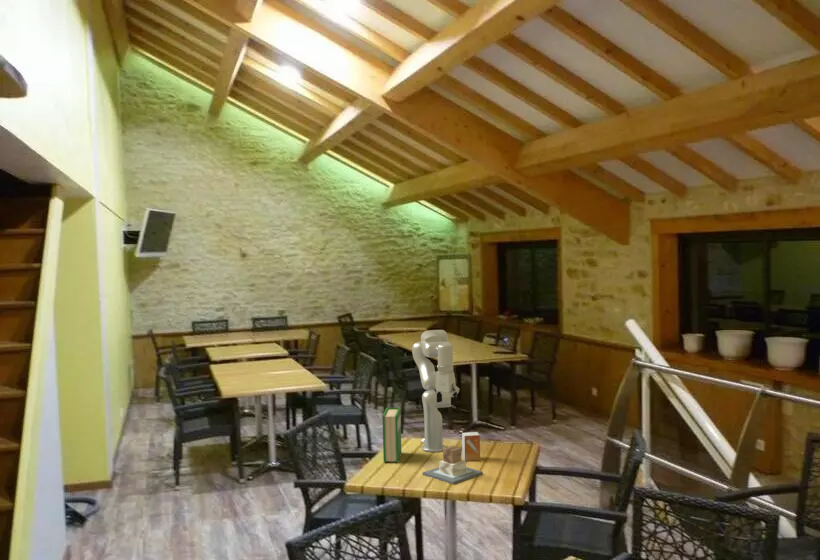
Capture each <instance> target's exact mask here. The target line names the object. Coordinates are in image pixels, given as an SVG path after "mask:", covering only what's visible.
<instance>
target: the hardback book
mask: <svg viewBox="0 0 820 560" xmlns="http://www.w3.org/2000/svg"><path fill="white" fill-rule="evenodd" d="M401 415H402V414H401V407H386V408H385V410H384V411H383V414H382V446H383V447H382V449H383V451H382V452H383V456H382V457H383V463H384V462H386V463H387V462H396V463H397V462H399V463H400V460H401V456H400V455H402V422H401V421H402V420H401V418H402V417H401Z"/></svg>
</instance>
